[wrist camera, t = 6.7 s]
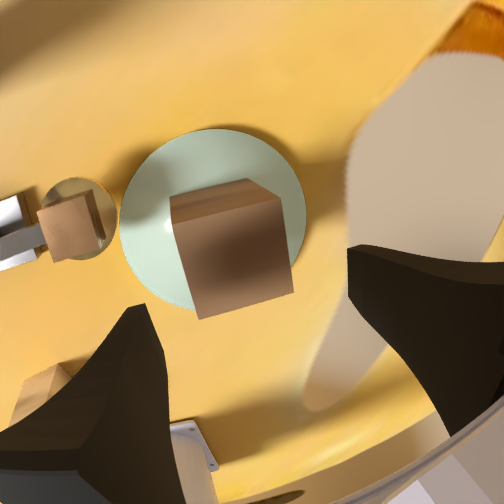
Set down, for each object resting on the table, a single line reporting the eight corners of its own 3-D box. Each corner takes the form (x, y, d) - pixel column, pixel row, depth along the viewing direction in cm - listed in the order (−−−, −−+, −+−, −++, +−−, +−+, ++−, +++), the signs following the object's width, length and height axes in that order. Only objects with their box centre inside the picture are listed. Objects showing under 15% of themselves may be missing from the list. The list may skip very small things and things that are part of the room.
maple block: (94, 398, 22) (88, 452, 17) (59, 413, 21) (50, 462, 16) (57, 362, 20) (42, 416, 15) (24, 380, 19) (7, 429, 14)
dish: (307, 278, 22) (313, 285, 21) (151, 321, 20) (151, 329, 19) (287, 115, 18) (294, 115, 17) (100, 155, 16) (97, 156, 15)
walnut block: (259, 249, 19) (293, 292, 14) (188, 268, 19) (198, 319, 14) (247, 177, 18) (281, 198, 13) (169, 196, 17) (171, 224, 12)
